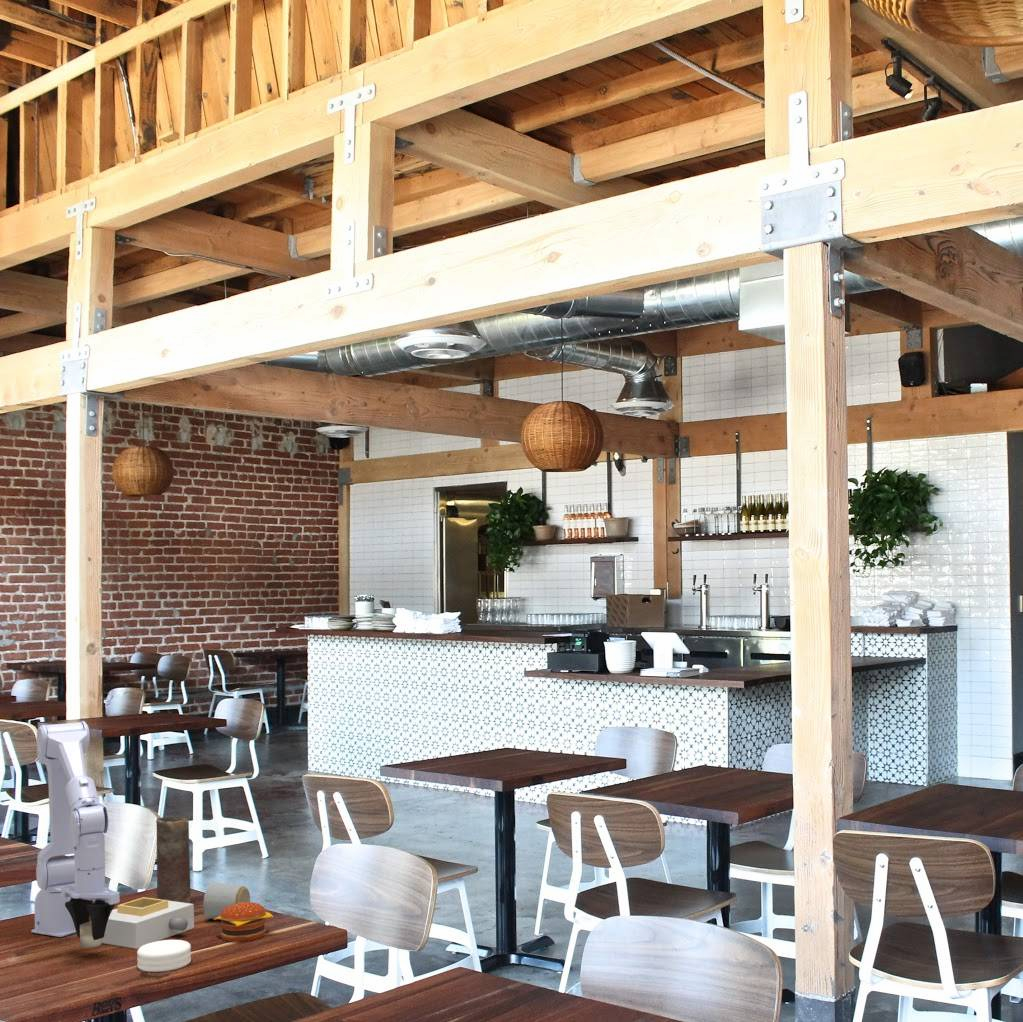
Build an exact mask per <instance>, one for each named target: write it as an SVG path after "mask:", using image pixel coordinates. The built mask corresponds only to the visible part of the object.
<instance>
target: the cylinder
mask: <svg viewBox="0 0 1023 1022" xmlns="http://www.w3.org/2000/svg"><path fill="white" fill-rule="evenodd" d="M101 945H102V943H101V939H98V940H94V939H93V935H92V924H91V921H89V922H86V923H82V924H80V937H79V946H80V948H84V949H89V948H97V947H99V946H101Z"/></svg>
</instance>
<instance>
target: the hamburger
mask: <svg viewBox="0 0 1023 1022" xmlns="http://www.w3.org/2000/svg"><path fill="white" fill-rule="evenodd" d="M268 918H274V915H272V914H271V913H270V912H268V911H266V908H265V906H263V905H262V904H260V903H257V902H251V901H250V902H240V903H235V904H232V905H230V906H228V907H226V908H224V909H223V910H222V911H221V914H220V916H219V917H217V918H214V919H213V920H214V921H216V920H221V921H220V927H221V930H222V931H221V933H220V934H221V939H222V940H224V941H225V942H233V943H235V942H237V943H239V942H240V943H241V942H250V941H254V940H257V939H260V938H263V937H264V936H265V935H266V933H267V930H266V927H265V925H266V919H268Z"/></svg>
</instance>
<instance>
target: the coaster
mask: <svg viewBox="0 0 1023 1022" xmlns="http://www.w3.org/2000/svg"><path fill="white" fill-rule="evenodd" d="M191 949H192V946H191V943H189V942H188V941H187V940H182V939H162V940H159V941H156V942H152V943H148V944H145V945H143V946H141V947H139V948H137V951H136V954H137V958H136V961H137V964H136V966H137V968H138V969H139V970H140V971H143V972H148V973H149V972H152V973H159V972H169V971H174V970H177V969H178V970H179V969H181V968H184V967H186V966H188V965H189V964H190V963H191V961H192V957H191V956H192V950H191Z"/></svg>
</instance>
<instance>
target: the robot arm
mask: <svg viewBox="0 0 1023 1022" xmlns="http://www.w3.org/2000/svg"><path fill="white" fill-rule="evenodd" d="M36 732H37V733H36V756H37V760H38V762H37V763H39V764H41V765H45V768H46V770H47V778H48V779H47V781H48V804H49V805H48V808H49V811H48V812H49V829H50V830H49V832H50V833H49V834H50V841H49V843H48V844H47V845H45V847H43V848H42V849H41V850H40V851H39V852H38V853H37V857H36V858H37V859H36V861H37V862H36V867H35V869H36V870H35V875H36V876H35V877H36V883H37V886H38V888H39V889H40V890H39V891H38V892H37V893H36V896H35V898H34V929H31V933H34V934H39V935H46V936H50V937H51V936H52V937H58V938H62V937H66V936H69V935H72V934H76V937H77V938H80V924H82V923H86V922H91V924H92V935H93V939H94V940H98V939H101V938H104V934H105V930H106V926H107V922H108V919H109V916H110V914H111V912H112V910H113V909H115V906H116V904H119V903H120V901H121V899H120V896H121V895H120V892H119V891H114V890H112V889H109V888H107V887H106V866H105V865H106V862H105V861H106V850H105V847H106V845H105V842H106V841H105V834H106V833H107V832H108V831H109V813H108V808H107V806H106V804H105V803H104V802H103V800H100V798H99V795H98V791H97V788H96V784H95V781H94V779H93V778H92V777H89V776H87V769H86V763H85V757H84V754H86V753H87V749H88V748H89V745H90V738H91V735H90V729H89V725H88V724H87V723H86V721H85V720H82V721H78V722H76V721H75V722H68V723H67V722H66V723H58V724H57V723H56V724H55V723H54V724H40V726H39V727H38V728H37V731H36ZM65 855H66V856H65ZM59 856H61V857H59ZM93 902H94V903H93Z"/></svg>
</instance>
